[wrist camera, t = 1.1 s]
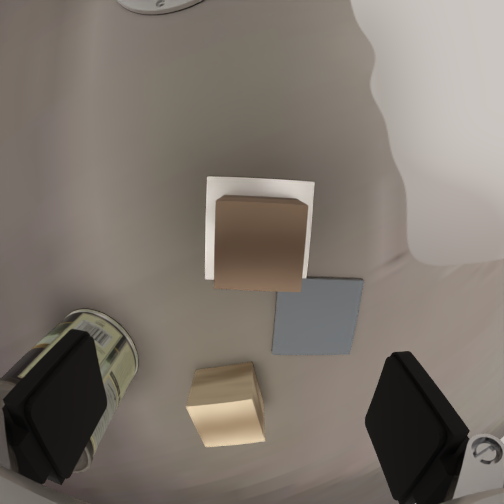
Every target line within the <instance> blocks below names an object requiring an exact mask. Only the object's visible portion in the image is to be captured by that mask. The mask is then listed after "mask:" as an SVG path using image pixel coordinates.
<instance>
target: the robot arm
mask: <svg viewBox="0 0 504 504" xmlns="http://www.w3.org/2000/svg"><path fill="white" fill-rule="evenodd" d="M117 1H118V3H119V4H120V5H122V6H123V7H124V8H126V9H128V10H130V11H132V12H136V13H140V14H163V13H169V12H173V11H178V10H181V9H184V8H187V7H190V6H192V5H194V4H196V3H198V2H201V1H202V0H117ZM3 402H4V404H5V405H4V406H3V408H1V407H0V504H90V503H87V502H84V501H81V500H78V499H76V498H73V497H70V496H68V495H65V494H63V493H60V492H58V491H55V490H53V489H51V488H48V487H46V486H45V484H44V483H45V481H46V479H48V480H51V481H53V482H55V483H58V484H60V485H62V483H63V481H64V480H65V478H66V479H67V478H69V477H70V476H71V474H72V472H73V470H74V468H75V466H76V464H77V463H78V461H79V459H80V457H81V455H82V453H83V451H84V449H85V447H86V445H87V443H88V441H89V440H90V438H91V436H92V434H93V432H94V430H95V428H96V426H97V425H98V423H99V421H100V419H101V417H102V415H103V414H104V412H105V410H106V408H107V396H106V392H105V388H104V384H103V380H102V375H101V371H100V366H99V362H98V357H97V352H96V346H95V341H94V338H93V337H90V334H89V333H88V332H87V331H82V330H77V329H71V330H69V331H68V332H67V333H66V334H65V335H64V336H63V337H62V338H61V339H60V340H59V341H58V342H57V343H56V344H55V345H54V346H53V347H52V348H51V349H50V350H49V351H48V352H47V353H46V354H45V355H44V356H43V357H42V358H41V359H40V360H39V361H38V362H37V363H36V364H35V365H34V367H33V368H32V369H31V370H30V371H29V372H28V373H27V374H26V375H25V376H24V377H23V378H22V379H21V380H20V381H19V382H18V383H17V384H16V386H15V387H14V388H13V389H12V390H11V391H10V392H9V393H8V394H7V395H6V396H5V398H4V399H3ZM365 425H366V428H367V431H368V433H369V436H370V438H371V441H372V444H373V446H374V449H375V451H376V454H377V456H378V459H379V462H380V464H381V467H382V470H383V472H384V475H385V478H386V480H387V483H388V486H389V488H390V491H391V494H392V497H393V499H394V500H398V501H399V504H415V503H416V504H504V444H503V443H502V442H501V440H499V439H498V438H497V437H495V436H493V435H490V434H484V433H483V434H477V435H475V436H473V437H472V438H471V439H469V438H468V436H467V435H468V433H469V429H468V428H467V426H466V425H465V423H464V422H463V421H462V419H461V418H460V416H459V415H458V414H457V412H456V411H455V410H454V408H453V407H452V405H451V404H450V403H449V401H448V400H447V399H446V397H445V396H444V395H443V393H442V392H441V391H440V389H439V388H438V387H437V385H436V384H435V383H434V381H433V380H432V379H431V377H430V376H429V375H428V373H427V372H426V371H425V370H424V368H423V367H422V366H421V364H420V363H419V362H418V361H417V359H416V358H415V357H414V355H413V354H412V353H411V352H409V351H405V352H394V353H392V354H391V356H390V357H387V359H386V361H385V364H384V367H383V370H382V373H381V376H380V379H379V382H378V385H377V388H376V390H375V393H374V396H373V399H372V401H371V404H370V407H369V409H368V412H367V414H366V417H365Z"/></svg>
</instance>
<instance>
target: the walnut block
mask: <svg viewBox="0 0 504 504" xmlns="http://www.w3.org/2000/svg"><path fill="white" fill-rule="evenodd" d="M307 218H308V205H307V204H305V203H303V202H302V201H300V200H298V199H296V198H282V197H264V196H244V195H223V196H222V197H220V198H219V199H217V200H216V206H215V242H214V288H215V289H233V290H254V291H278V292H301V284H302V274H303V264H304V253H305V242H306V230H307Z"/></svg>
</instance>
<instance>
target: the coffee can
mask: <svg viewBox="0 0 504 504" xmlns="http://www.w3.org/2000/svg"><path fill="white" fill-rule="evenodd" d="M71 329H77V330H82V331H87V332H88V333H89V334H90V337H93V338H94V341H95V346H96V352H97V357H98V362H99V366H100V371H101V375H102V380H103V384H104V388H105V392H106V396H107V408H106V410H105V412H104V414H103V415H102V417H101V419H100V421H99V423H98V425H97V426H96V428H95V430H94V432H93V434H92V436H91V438H90V440H89V441H88V443H87V445H86V447H85V449H84V451H83V453H82V455H81V457H80V459H79V461H78V463H77V464H76V466H75V468H74V470H73V472H75V473H78V472H84V471H86V470H87V469H89V467H90V465H91V463H92V460H93V455H94V453H95V451H96V449H97V447H98V445H99V443H100V441H101V439H102V437H103V435H104V433H105V431H106V429H107V427H108V425H109V423H110V421H111V419H112V417H113V415H114V413H115V411H116V409H117V407H118V405H119V403H120V401H121V399H122V397H123V395H124V393H125V391H126V390H127V388H128V386H129V384H130V382H131V380H132V379H133V377H134V376H135V374H136V372H137V369H138V354H137V351H136V348H135V345H134V343H133V341H132V339H131V338H130V336H129V335H128V333H127V332H126V331H125V330H124V329H123V328H122V327H121V326H120V324H118V323H117V322H116V321H114V320H113V319H112V318H110V317H109V316H107V315H105V314H103V313H101V312H98V311H95V310H90V309H80V310H76V311H73V312H71V313H70V314H68V315H67V316H66V317H65V318H64V320H63V321H62V322H61V323H59V324H58V325H57V326H56V327H55V328H54V329H53V330H52V331H50V332H49V333H48V334H47V335H46V336H45V337H44V338H43V339H42V340H41V341H40V342H39V343H37V344H36V345H35V346H34V347H33V348H32V349H31V350H30V351H29V352H28V353H27V354H26V355H24V356H23V357H22V358H21V359H20V360H19V361H18V362H17V363H16V364H15V365H14V366H13V367H12V368H11V369H10V370H9V371H8V372H7V373H6V374H5V375H4V376H3V377H2V378H0V407H1V408H3V406H4V405H5V404H4V402H3V399H4V398H5V396H6V395H7V394H8V393H9V392H10V391H11V390H12V389H13V388H14V387H15V386H16V384H17V383H18V382H19V381H20V380H21V379H22V378H23V377H24V376H25V375H26V374H27V373H28V372H29V371H30V370H31V369H32V368H33V367H34V365H35V364H36V363H37V362H38V361H39V360H40V359H41V358H42V357H43V356H44V355H45V354H46V353H47V352H48V351H49V350H50V349H51V348H52V347H53V346H54V345H55V344H56V343H57V342H58V341H59V340H60V339H61V338H62V337H63V336H64V335H65V334H66V333H67V332H68V331H69V330H71Z"/></svg>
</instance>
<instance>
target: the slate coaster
mask: <svg viewBox="0 0 504 504" xmlns="http://www.w3.org/2000/svg"><path fill="white" fill-rule="evenodd" d="M363 283H364V280H363V279H348V278H318V277H306V278H302V284H301V292H278V291H277V298H276V310H275V321H274V333H273V344H272V354H274V355H337V354H350V351H351V346H352V342H353V337H354V332H355V327H356V322H357V317H358V312H359V306H360V301H361V295H362V289H363Z"/></svg>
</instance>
